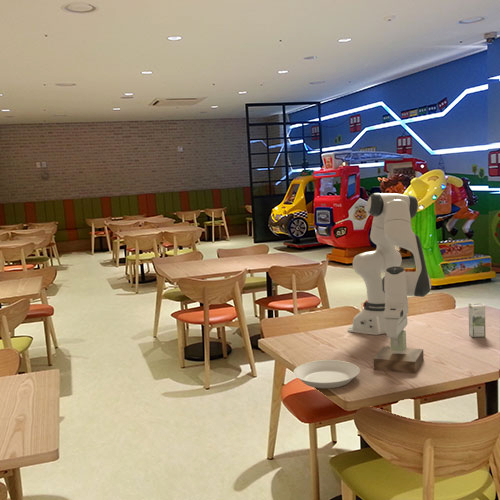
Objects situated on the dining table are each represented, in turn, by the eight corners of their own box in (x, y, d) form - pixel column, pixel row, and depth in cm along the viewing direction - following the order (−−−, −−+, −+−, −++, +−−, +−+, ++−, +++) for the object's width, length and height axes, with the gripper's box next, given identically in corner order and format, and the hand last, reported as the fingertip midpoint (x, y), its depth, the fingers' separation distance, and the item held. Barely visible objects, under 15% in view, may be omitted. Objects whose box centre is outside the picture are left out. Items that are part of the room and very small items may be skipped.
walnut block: (373, 370, 226) (373, 358, 225) (384, 358, 240) (383, 346, 239) (415, 374, 218) (415, 361, 218) (423, 361, 232) (423, 349, 232)
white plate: (317, 365, 237) (316, 356, 236) (372, 374, 221) (371, 365, 220) (280, 384, 218) (280, 375, 217) (338, 397, 202) (337, 387, 201)
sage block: (390, 350, 227) (390, 333, 226) (393, 346, 232) (393, 329, 231) (403, 351, 225) (402, 334, 224) (406, 347, 229) (405, 330, 228)
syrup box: (482, 333, 261) (481, 302, 260) (486, 337, 256) (485, 305, 254) (469, 334, 262) (468, 303, 260) (472, 337, 256) (471, 306, 254)
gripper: (395, 302, 237) (396, 334, 238) (382, 314, 219) (383, 349, 220) (410, 302, 234) (411, 335, 235) (398, 315, 216) (400, 351, 218)
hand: (398, 342), depth 228 cm, fingers closed on sage block, 5 cm apart
